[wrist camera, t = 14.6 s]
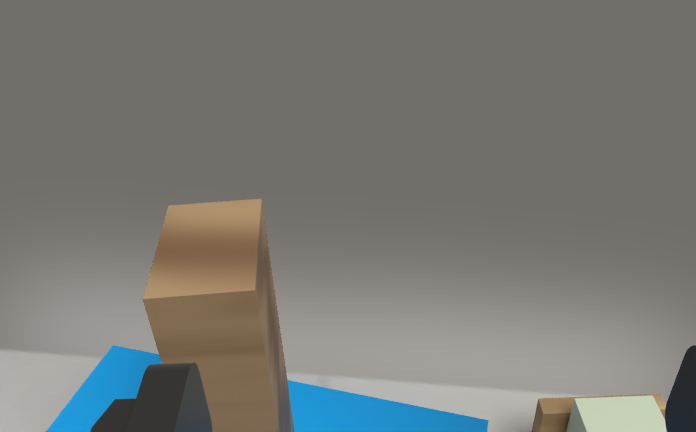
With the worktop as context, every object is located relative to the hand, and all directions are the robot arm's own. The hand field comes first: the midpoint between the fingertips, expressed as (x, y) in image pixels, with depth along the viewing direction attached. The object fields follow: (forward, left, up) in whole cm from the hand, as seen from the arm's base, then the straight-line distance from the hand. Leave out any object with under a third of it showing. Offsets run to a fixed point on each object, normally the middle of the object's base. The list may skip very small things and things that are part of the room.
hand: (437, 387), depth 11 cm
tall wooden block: (+8, +13, -23) cm, 27 cm away
